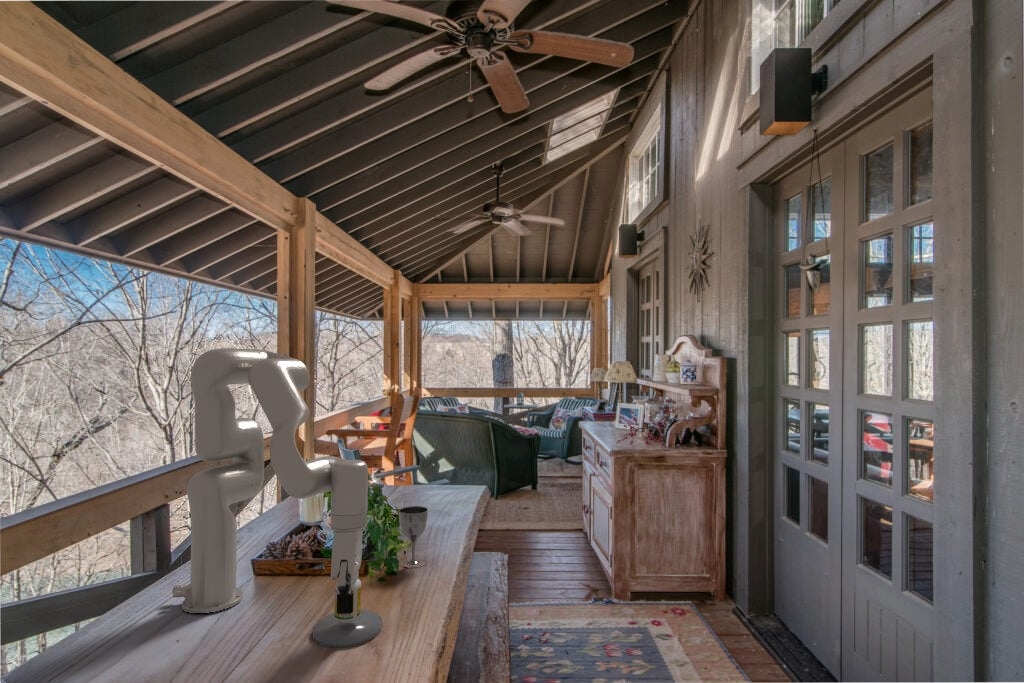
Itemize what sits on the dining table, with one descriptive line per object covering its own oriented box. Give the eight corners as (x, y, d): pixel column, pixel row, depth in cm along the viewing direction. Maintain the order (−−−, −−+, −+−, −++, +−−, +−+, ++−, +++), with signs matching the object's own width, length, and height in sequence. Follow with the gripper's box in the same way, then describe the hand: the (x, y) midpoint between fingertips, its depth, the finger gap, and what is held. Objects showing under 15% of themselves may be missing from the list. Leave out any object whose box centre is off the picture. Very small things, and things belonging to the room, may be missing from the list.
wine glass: (421, 570, 148) (421, 514, 149) (394, 567, 150) (394, 512, 150) (431, 559, 156) (431, 506, 156) (405, 557, 158) (405, 505, 158)
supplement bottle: (343, 626, 111) (344, 578, 112) (329, 618, 115) (330, 571, 115) (365, 616, 115) (366, 570, 116) (351, 609, 119) (352, 564, 119)
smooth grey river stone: (305, 649, 107) (305, 643, 107) (321, 616, 121) (321, 611, 121) (377, 645, 109) (377, 639, 109) (385, 613, 123) (386, 607, 123)
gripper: (339, 509, 124) (337, 590, 123) (321, 532, 107) (319, 626, 106) (372, 508, 125) (371, 588, 124) (360, 531, 108) (359, 625, 107)
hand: (347, 605), depth 115 cm, fingers closed on supplement bottle, 5 cm apart
